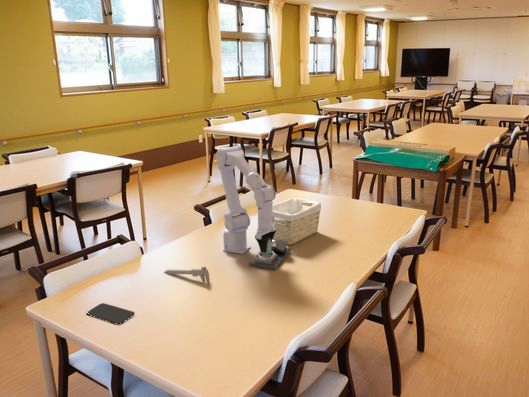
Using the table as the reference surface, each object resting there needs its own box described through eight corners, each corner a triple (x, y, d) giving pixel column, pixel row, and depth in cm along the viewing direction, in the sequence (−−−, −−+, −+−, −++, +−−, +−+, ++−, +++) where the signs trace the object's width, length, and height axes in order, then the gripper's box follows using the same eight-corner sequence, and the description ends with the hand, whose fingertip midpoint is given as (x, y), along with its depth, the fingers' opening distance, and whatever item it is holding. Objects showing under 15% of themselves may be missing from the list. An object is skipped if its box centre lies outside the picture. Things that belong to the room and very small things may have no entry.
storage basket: (294, 224, 220) (294, 195, 216) (322, 231, 210) (323, 202, 206) (263, 239, 203) (262, 208, 199) (291, 248, 193) (291, 215, 189)
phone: (102, 302, 151) (136, 312, 145) (102, 304, 151) (136, 314, 145) (84, 313, 145) (119, 324, 138) (85, 315, 145) (119, 326, 138)
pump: (258, 254, 176) (258, 241, 174) (262, 250, 180) (262, 237, 178) (273, 256, 174) (273, 243, 172) (277, 252, 178) (277, 239, 176)
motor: (248, 265, 177) (248, 250, 175) (266, 248, 192) (266, 234, 191) (275, 270, 172) (275, 255, 170) (291, 252, 188) (291, 238, 186)
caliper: (209, 282, 165) (208, 267, 163) (208, 283, 164) (207, 268, 162) (165, 272, 174) (164, 257, 172) (163, 273, 173) (162, 258, 171)
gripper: (267, 224, 165) (268, 258, 169) (281, 212, 178) (282, 244, 182) (250, 222, 168) (251, 255, 172) (265, 210, 180) (266, 241, 184)
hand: (266, 249), depth 177 cm, fingers closed on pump, 4 cm apart
